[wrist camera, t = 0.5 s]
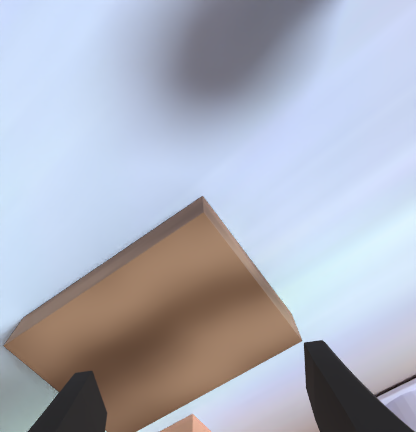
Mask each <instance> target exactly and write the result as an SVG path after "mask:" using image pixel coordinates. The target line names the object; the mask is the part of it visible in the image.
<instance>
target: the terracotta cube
mask: <svg viewBox="0 0 416 432" xmlns="http://www.w3.org/2000/svg"><path fill="white" fill-rule="evenodd" d="M160 432H211V431H210V430H209V429H208V428H207V427H206V426H205V425H204V424H203V423H202V422H201V421H200V420H199V419H198V418H197V417H195V416H194V415H193V414H191V415H190V416H188V417H186V418H184V419H182V420H180V421H178V422H177V423H175V424H173V425H171V426H169V427H167V428H165V429H164V430H162V431H160Z"/></svg>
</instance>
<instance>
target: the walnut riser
mask: <svg viewBox="0 0 416 432" xmlns="http://www.w3.org/2000/svg"><path fill="white" fill-rule="evenodd" d="M301 341H302V339H301V336H300V334H299V331H298V329H297V326H296V324H295V321H294V319H293V316H292V314H291V312H290V311H289V310H288V308H287V307H286V306H285V305H284V303H283V302H282V301H281V299H280V298H279V297H278V295H277V294H276V293H275V291H274V290H273V289H272V287H271V286H270V285H269V283H268V282H267V281H266V279H265V278H264V277H263V275H262V274H261V273H260V271H259V270H258V269H257V267H256V266H255V265H254V263H253V262H252V261H251V259H250V258H249V257H248V255H247V254H246V253H245V251H244V250H243V249H242V247H241V246H240V245H239V243H238V242H237V241H236V239H235V238H234V237H233V235H232V234H231V233H230V231H229V230H228V229H227V227H226V226H225V225H224V223H223V222H222V221H221V219H220V218H219V217H218V215H217V214H216V213H215V212H214V210H213V209H212V208H211V206H210V205H209V204H208V202H207V201H206V200H205V198H204V197H203V196H202V197H200V198H199V199H197V200H196V201H194V202H193V203H191V204H190V205H189V206H187V207H186V208H184V209H183V210H181V211H180V212H178V213H177V214H175V215H174V216H172V217H171V218H169V219H168V220H166V221H165V222H163V223H162V224H161V225H159V226H158V227H156V228H155V229H153V230H152V231H150V232H149V233H147V234H146V235H144V236H143V237H141V238H140V239H138V240H137V241H135V242H134V243H133V244H131V245H130V246H128V247H127V248H125V249H124V250H122V251H121V252H119V253H118V254H116V255H115V256H113V257H112V258H110V259H109V260H107V261H106V262H105V263H103V264H102V265H100V266H99V267H97V268H96V269H94V270H93V271H91V272H90V273H88V274H87V275H85V276H84V277H82V278H81V279H79V280H78V281H77V282H75V283H74V284H72V285H71V286H69V287H68V288H66V289H65V290H63V291H62V292H60V293H59V294H57V295H56V296H54V297H53V298H51V299H50V300H49V301H47V302H46V303H44V304H43V305H41V306H40V307H38V308H37V309H35V310H34V311H32V312H31V313H29V314H28V315H26V316H25V317H23V319H22V320H21V322H20V323H19V324H18V326H17V327H16V329H15V330H14V331H13V333H12V334H11V336H10V337H9V339H8V340H7V341H6V343H5V344H4V347H5V348H6V349H8V350H9V351H10V352H11V353H12V354H14V355H15V356H16V357H17V358H19V359H20V360H21V361H22V362H23V363H25V364H26V365H27V366H28V367H29V368H31V369H32V370H33V371H34V372H35V373H37V374H38V375H39V376H40V377H42V378H43V379H44V380H45V381H46V382H48V383H49V384H50V385H51V386H52V387H54V388H55V389H56V390H57V391H58V392H60V391H61V390H62V388H63V387H64V386H65V385H66V383H67V382H68V381H69V380H70V378H71V377H72V376H73V375H74V374H75V373H78V372H85V371H93V373H94V376H95V379H96V382H97V385H98V388H99V391H100V394H101V396H102V399H103V402H104V405H105V408H106V411H107V420H106V427H105V430H106V431H107V432H136V431H138V430H140V429H142V428H144V427H146V426H147V425H149V424H151V423H153V422H155V421H157V420H158V419H160V418H162V417H164V416H166V415H168V414H169V413H171V412H173V411H175V410H177V409H179V408H180V407H182V406H184V405H186V404H188V403H189V402H191V401H193V400H195V399H197V398H199V397H200V396H202V395H204V394H206V393H208V392H210V391H211V390H213V389H215V388H217V387H219V386H221V385H222V384H224V383H226V382H228V381H230V380H232V379H233V378H235V377H237V376H239V375H241V374H243V373H244V372H246V371H248V370H250V369H252V368H254V367H255V366H257V365H259V364H261V363H263V362H265V361H266V360H268V359H270V358H272V357H274V356H276V355H277V354H279V353H281V352H283V351H285V350H287V349H288V348H290V347H292V346H294V345H296V344H298V343H299V342H301Z"/></svg>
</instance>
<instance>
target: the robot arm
mask: <svg viewBox="0 0 416 432" xmlns="http://www.w3.org/2000/svg"><path fill="white" fill-rule="evenodd" d="M304 355H305V375H306V389H307V393H308V396H309V400H310V403H311V407H312V410H313V413H314V417H315V420H316V423H317V425H318V428H319V430H320V432H416V378H415V379H413V380H411V381H409V382H407V383H405V384H403V385H401V386H399V387H397V388H394V389H392V390H390V391H388V392H386V393H384V394H382V395H380V396H378V397H375V396H374V395H373V394H372V393H371V392H370V391H369V390H368V389H367V388H366V387H365V386H364V385H363V384H362V383H361V382H360V381H359V380H358V379H357V378H356V377H355V375H354V374H353V373H352V372H351V371H350V370H349V369H348V368H347V367H346V366H345V365H344V364H343V363H342V361H341V360H340V359H339V358H338V357H337V356H336V355H335V353H334V352H333V351H332V350H331V349H330V348H329V346H328V345H327V344H326V343H325V342H324V341H323V340H320V341H313V342H305V343H304ZM106 420H107V411H106V408H105V405H104V402H103V399H102V396H101V394H100V391H99V388H98V385H97V382H96V379H95V376H94V373H93V371H85V372H78V373H75V374H74V375H73V376H72V377H71V378H70V380H69V381H68V382H67V383H66V385H65V386H64V387H63V388H62V390H61V391H60V392H59V393H58V395H57V396H56V397H55V399H54V400H53V401H52V402H51V404H50V405H49V406H48V407H47V409H46V410H45V411H44V412H43V414H42V415H41V416H40V417H39V418H38V420H37V421H36V422H35V423H34V425H33V426H32V427H31V428H30V429H29V431H28V432H105V427H106Z"/></svg>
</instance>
